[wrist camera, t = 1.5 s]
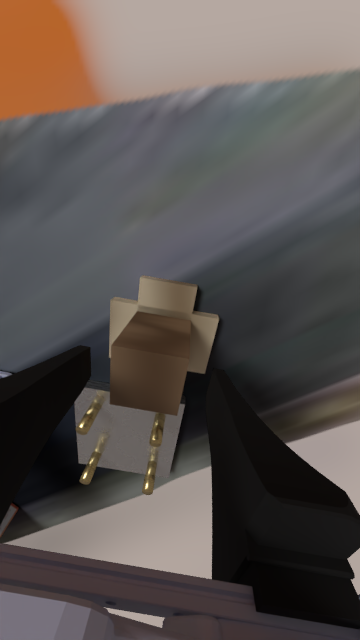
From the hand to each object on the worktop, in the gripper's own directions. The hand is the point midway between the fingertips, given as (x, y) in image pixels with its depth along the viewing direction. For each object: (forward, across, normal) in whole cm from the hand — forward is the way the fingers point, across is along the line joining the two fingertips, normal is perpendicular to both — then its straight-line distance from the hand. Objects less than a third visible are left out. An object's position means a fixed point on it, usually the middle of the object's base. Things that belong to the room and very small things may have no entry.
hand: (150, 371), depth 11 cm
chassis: (+5, +2, +12) cm, 13 cm away
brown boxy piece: (+5, 0, 0) cm, 5 cm away
